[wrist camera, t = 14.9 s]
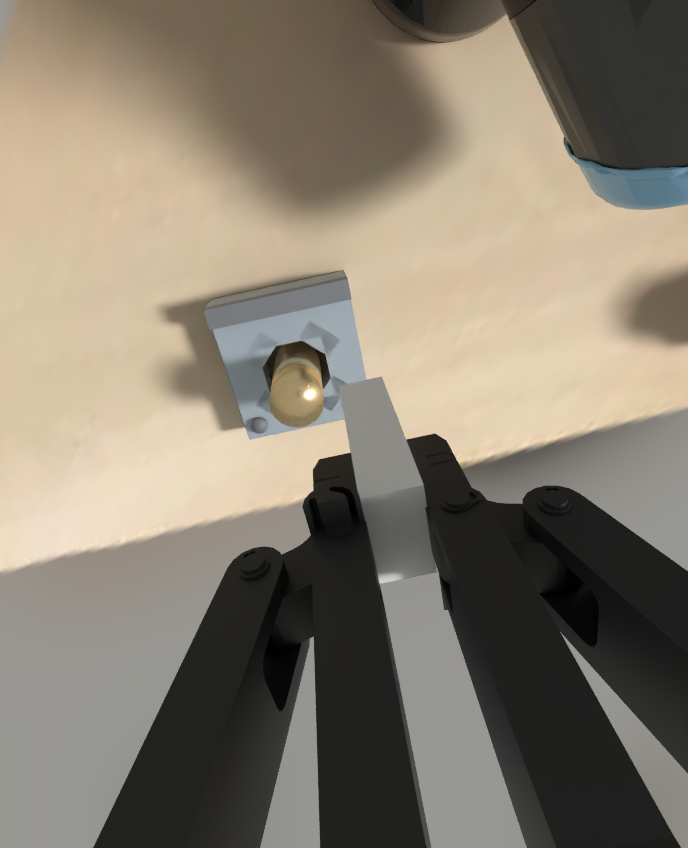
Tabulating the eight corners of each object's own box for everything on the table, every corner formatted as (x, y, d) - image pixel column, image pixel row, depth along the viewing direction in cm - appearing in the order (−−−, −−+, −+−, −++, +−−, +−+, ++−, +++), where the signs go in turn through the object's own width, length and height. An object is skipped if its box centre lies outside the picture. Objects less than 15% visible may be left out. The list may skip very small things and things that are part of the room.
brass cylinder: (269, 346, 49) (262, 384, 40) (314, 336, 49) (317, 372, 40) (281, 387, 51) (277, 432, 43) (324, 377, 51) (329, 421, 42)
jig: (210, 299, 47) (202, 310, 43) (343, 270, 46) (347, 279, 43) (252, 426, 53) (248, 445, 50) (369, 401, 53) (374, 418, 49)
